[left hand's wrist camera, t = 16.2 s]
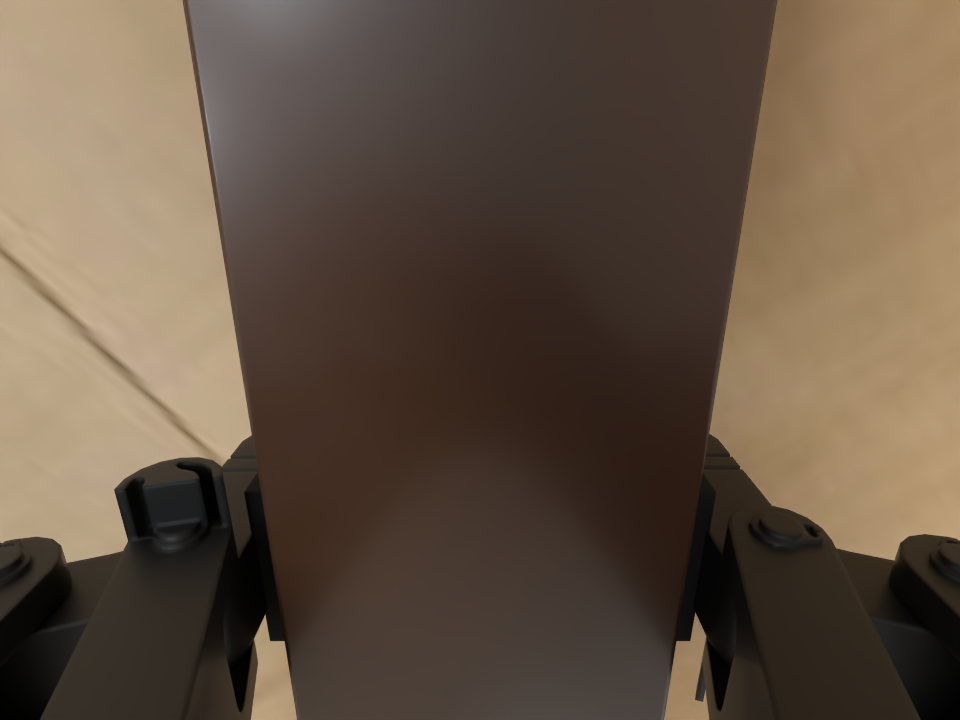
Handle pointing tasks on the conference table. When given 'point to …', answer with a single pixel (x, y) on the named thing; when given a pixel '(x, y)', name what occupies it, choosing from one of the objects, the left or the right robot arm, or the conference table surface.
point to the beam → (480, 331)
